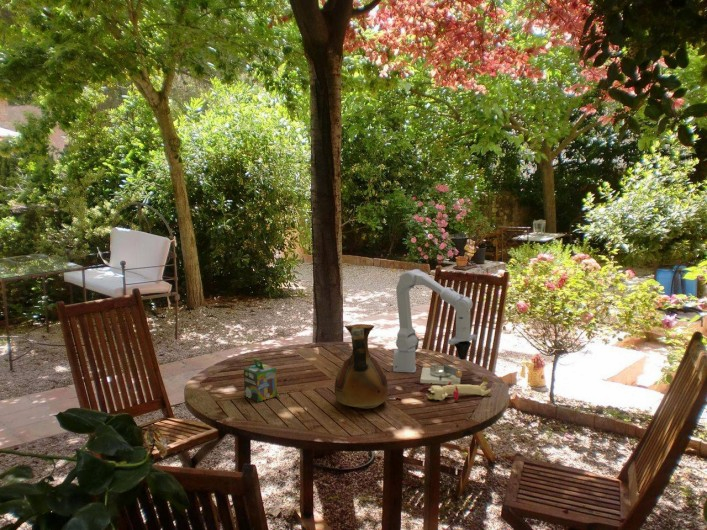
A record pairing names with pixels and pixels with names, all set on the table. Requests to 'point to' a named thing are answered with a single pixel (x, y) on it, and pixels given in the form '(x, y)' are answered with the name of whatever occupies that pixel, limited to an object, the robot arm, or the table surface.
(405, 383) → the table surface
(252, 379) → the chalk box
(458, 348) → the robot arm
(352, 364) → the brown vase
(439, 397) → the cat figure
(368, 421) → the table surface
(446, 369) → the grey metal handled bowl
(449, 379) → the cap plate
